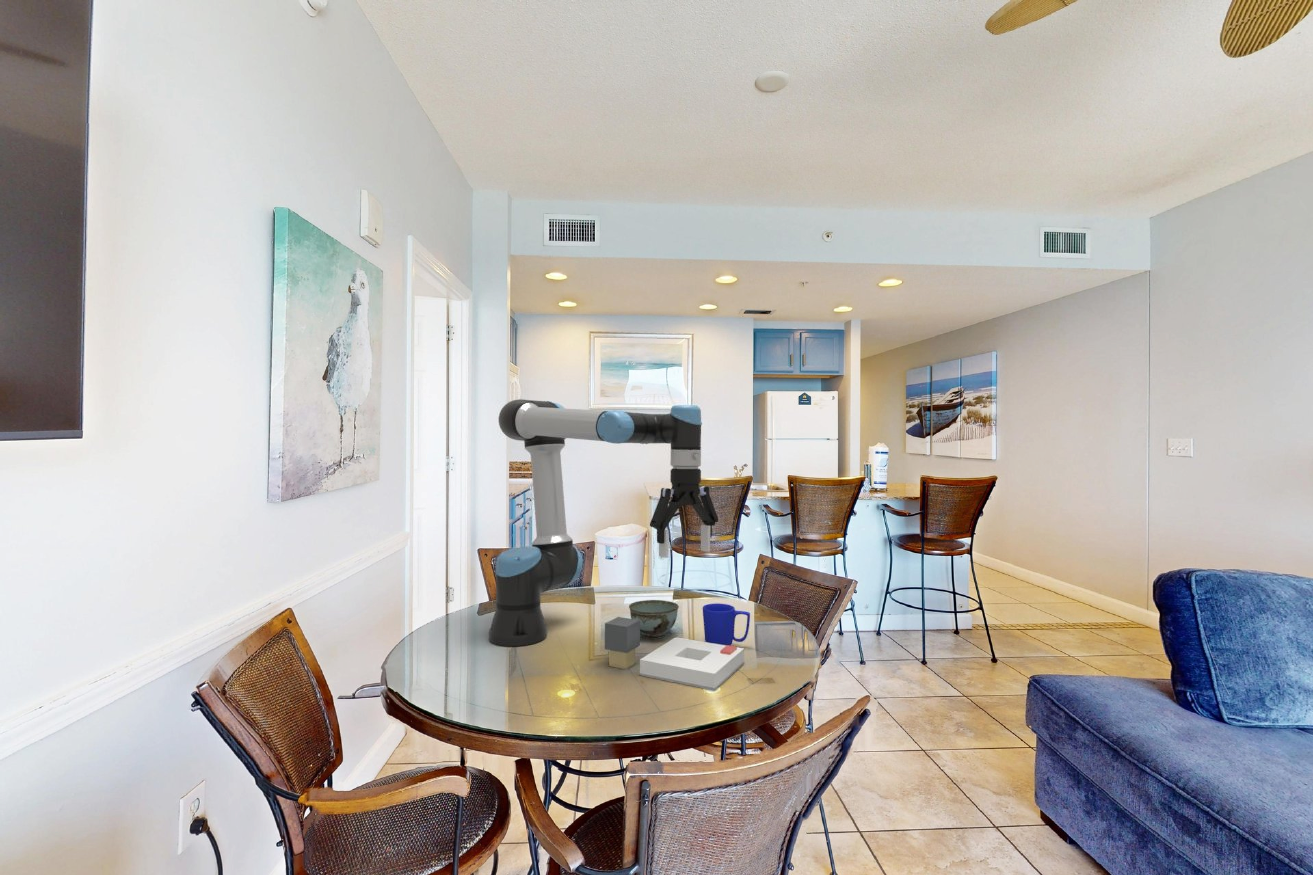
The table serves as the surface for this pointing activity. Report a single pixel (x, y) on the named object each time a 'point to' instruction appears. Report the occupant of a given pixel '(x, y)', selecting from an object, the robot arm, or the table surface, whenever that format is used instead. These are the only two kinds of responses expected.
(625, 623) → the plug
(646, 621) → the bowl
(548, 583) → the robot arm
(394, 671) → the table surface
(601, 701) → the table surface
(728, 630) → the mug
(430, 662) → the table surface
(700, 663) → the socket plate
